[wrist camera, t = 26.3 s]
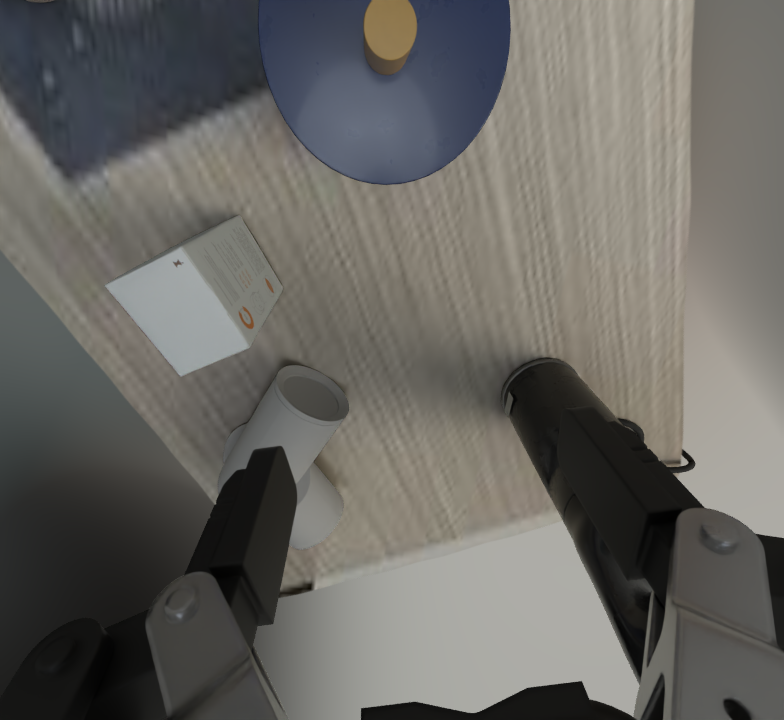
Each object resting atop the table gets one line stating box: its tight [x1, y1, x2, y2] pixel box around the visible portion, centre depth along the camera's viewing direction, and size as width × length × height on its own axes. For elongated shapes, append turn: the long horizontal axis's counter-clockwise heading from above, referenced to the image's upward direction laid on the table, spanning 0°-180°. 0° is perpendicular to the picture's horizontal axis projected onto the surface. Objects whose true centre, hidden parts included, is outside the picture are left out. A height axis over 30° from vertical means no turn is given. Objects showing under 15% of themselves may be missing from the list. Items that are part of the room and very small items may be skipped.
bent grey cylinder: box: [218, 365, 349, 549], centre depth 44 cm, size 18×11×20 cm
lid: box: [258, 0, 511, 185], centre depth 21 cm, size 15×15×6 cm
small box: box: [104, 215, 284, 376], centre depth 32 cm, size 8×6×13 cm
